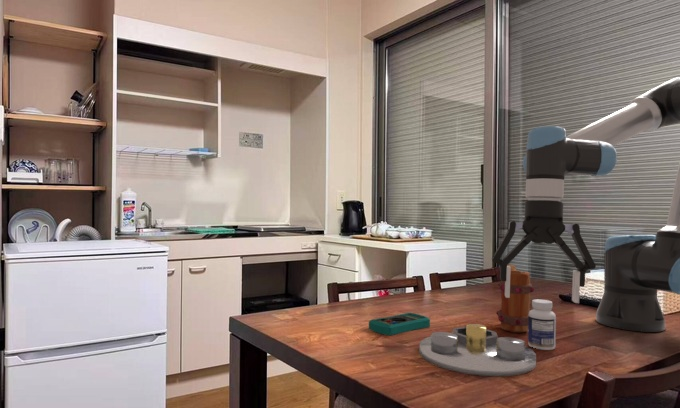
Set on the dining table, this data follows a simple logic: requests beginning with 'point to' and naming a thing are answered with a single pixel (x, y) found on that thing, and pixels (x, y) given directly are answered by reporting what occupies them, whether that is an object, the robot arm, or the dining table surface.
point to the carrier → (477, 352)
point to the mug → (515, 302)
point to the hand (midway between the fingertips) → (540, 299)
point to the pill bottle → (542, 325)
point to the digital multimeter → (399, 323)
